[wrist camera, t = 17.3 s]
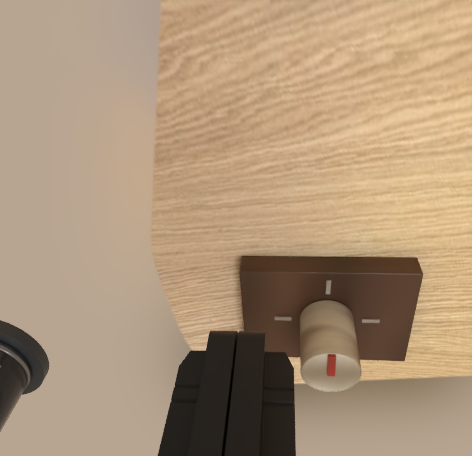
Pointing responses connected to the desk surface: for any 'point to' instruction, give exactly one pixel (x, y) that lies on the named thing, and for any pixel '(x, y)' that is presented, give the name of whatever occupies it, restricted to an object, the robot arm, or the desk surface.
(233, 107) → the desk surface
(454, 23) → the desk surface
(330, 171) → the desk surface
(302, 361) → the dial
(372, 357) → the dial panel
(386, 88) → the desk surface
